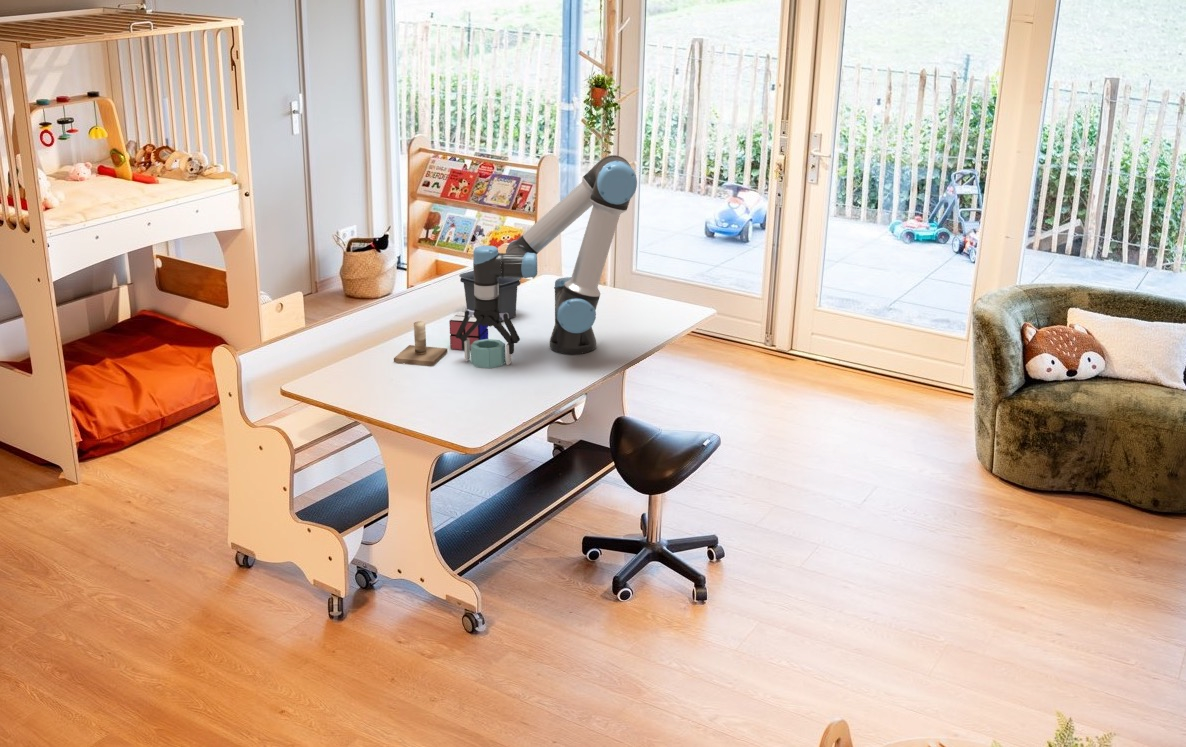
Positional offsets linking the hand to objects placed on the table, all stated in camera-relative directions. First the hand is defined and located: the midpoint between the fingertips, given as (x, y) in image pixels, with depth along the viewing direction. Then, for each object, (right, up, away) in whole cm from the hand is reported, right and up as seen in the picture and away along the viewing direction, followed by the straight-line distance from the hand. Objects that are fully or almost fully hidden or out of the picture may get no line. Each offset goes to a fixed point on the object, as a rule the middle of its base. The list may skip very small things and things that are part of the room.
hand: (488, 361), depth 368 cm
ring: (0, 0, 0) cm, 0 cm away
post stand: (-22, +1, +4) cm, 22 cm away
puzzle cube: (-7, +5, +15) cm, 18 cm away
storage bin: (-2, +17, +47) cm, 50 cm away
